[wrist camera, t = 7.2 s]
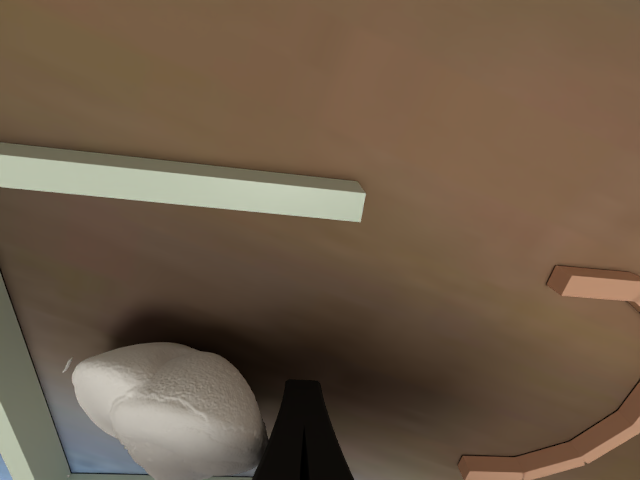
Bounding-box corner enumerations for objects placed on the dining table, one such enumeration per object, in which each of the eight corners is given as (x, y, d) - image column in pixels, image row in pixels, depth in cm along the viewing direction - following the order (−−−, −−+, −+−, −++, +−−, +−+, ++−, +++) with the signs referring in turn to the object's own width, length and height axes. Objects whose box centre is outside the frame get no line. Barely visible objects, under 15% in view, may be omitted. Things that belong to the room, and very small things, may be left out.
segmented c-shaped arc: (588, 469, 16) (600, 484, 15) (457, 465, 15) (464, 481, 15) (734, 281, 11) (759, 291, 11) (555, 265, 11) (571, 275, 10)
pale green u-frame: (305, 487, 15) (305, 522, 14) (56, 483, 14) (32, 519, 13) (357, 181, 9) (365, 193, 8) (-80, 133, 8) (-153, 138, 7)
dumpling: (302, 341, 12) (301, 449, 8) (256, 425, 13) (237, 544, 10) (112, 279, 10) (4, 375, 7) (89, 382, 12) (-6, 502, 8)
